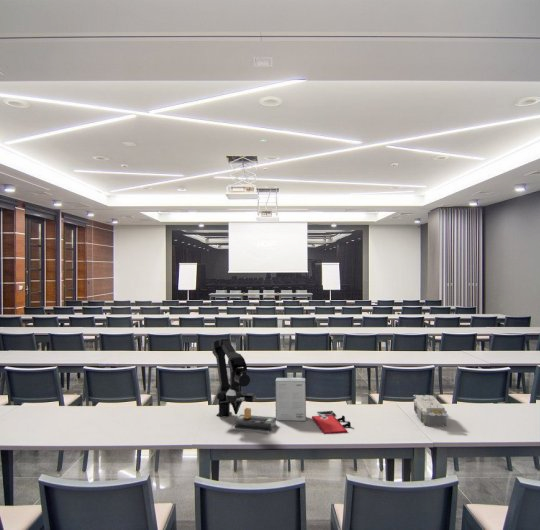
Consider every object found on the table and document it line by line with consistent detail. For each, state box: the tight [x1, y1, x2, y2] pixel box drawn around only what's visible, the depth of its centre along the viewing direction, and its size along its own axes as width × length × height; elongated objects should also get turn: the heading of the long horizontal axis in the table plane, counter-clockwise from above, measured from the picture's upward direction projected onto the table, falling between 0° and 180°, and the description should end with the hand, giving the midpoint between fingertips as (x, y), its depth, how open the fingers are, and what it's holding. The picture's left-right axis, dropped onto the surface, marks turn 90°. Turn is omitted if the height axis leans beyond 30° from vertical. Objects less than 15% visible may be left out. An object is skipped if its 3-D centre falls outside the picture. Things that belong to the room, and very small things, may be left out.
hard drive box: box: [274, 377, 307, 422], centre depth 215 cm, size 16×8×20 cm, turn 84°
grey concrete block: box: [412, 394, 449, 427], centre depth 212 cm, size 12×28×10 cm, turn 177°
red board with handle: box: [311, 410, 352, 435], centre depth 209 cm, size 30×3×15 cm
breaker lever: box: [243, 407, 252, 419], centre depth 204 cm, size 3×2×4 cm
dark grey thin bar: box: [234, 426, 269, 435], centre depth 196 cm, size 2×16×1 cm, turn 74°
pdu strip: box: [234, 414, 277, 432], centre depth 203 cm, size 9×18×4 cm, turn 74°
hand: (236, 413), depth 206 cm, fingers closed
